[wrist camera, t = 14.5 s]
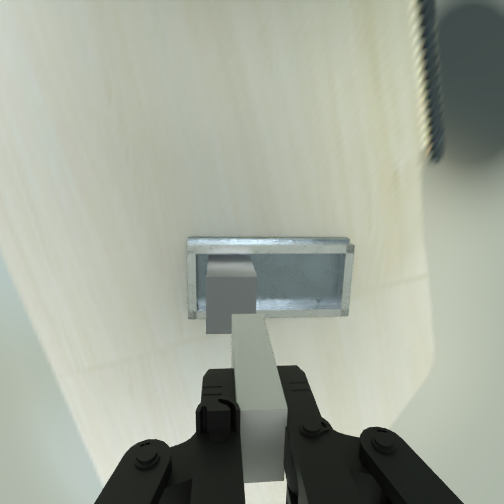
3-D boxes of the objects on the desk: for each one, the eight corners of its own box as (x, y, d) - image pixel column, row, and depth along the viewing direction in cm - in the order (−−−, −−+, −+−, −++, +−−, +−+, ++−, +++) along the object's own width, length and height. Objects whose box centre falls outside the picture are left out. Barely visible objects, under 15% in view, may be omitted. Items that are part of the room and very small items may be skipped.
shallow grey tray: (188, 237, 43) (186, 241, 40) (346, 237, 45) (354, 242, 42) (190, 312, 45) (188, 322, 42) (340, 310, 47) (347, 319, 44)
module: (208, 254, 42) (206, 277, 34) (249, 254, 43) (257, 277, 34) (208, 301, 44) (206, 334, 35) (248, 301, 44) (255, 334, 36)
